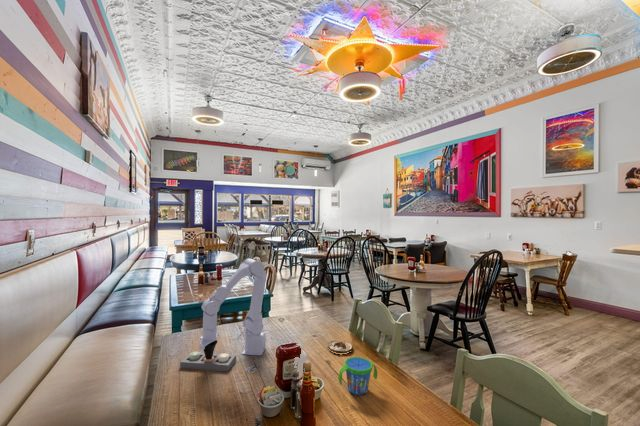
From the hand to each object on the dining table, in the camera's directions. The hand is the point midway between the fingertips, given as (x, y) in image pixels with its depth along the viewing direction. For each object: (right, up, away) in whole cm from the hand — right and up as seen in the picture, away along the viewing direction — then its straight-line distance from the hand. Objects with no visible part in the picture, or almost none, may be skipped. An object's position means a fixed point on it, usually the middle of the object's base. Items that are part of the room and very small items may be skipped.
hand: (208, 358), depth 127 cm
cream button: (+6, -1, 0) cm, 7 cm away
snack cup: (+63, -4, -16) cm, 65 cm away
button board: (0, -2, 0) cm, 2 cm away
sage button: (-6, 0, +1) cm, 7 cm away
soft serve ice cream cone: (+39, -4, -14) cm, 42 cm away
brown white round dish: (+59, -5, +17) cm, 61 cm away
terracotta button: (0, -2, 0) cm, 2 cm away
